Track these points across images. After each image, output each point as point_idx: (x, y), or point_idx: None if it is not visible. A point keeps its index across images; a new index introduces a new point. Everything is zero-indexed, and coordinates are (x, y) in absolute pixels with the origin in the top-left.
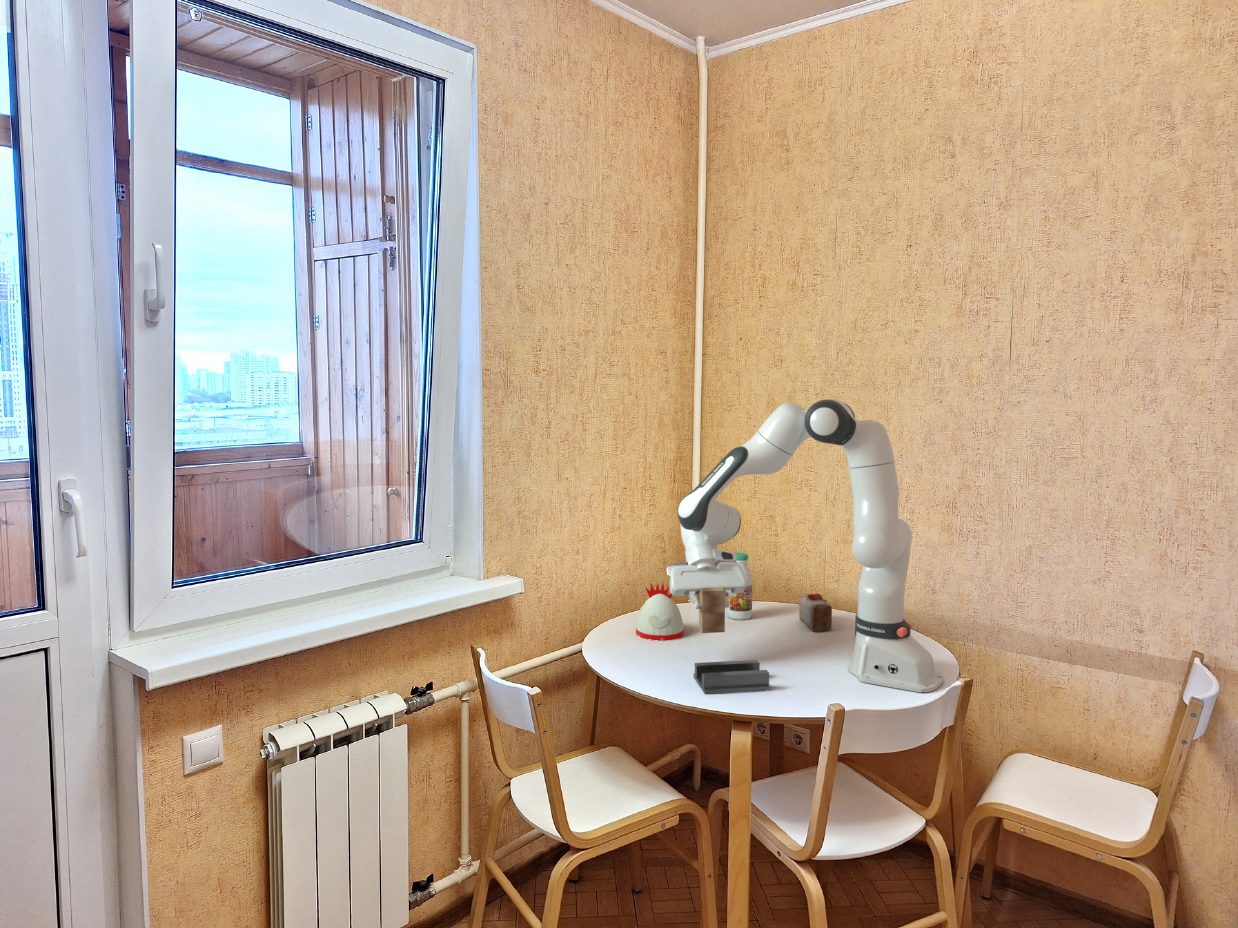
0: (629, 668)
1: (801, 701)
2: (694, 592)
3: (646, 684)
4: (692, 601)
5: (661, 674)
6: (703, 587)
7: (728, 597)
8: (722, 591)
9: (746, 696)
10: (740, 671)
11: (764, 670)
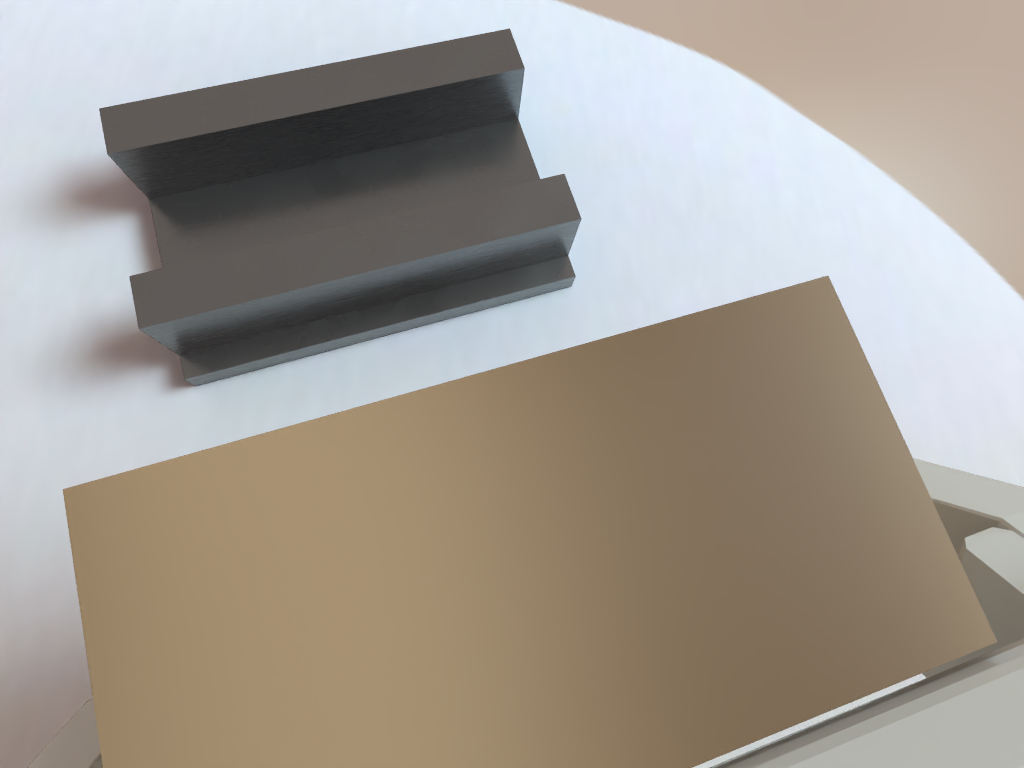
0: (940, 369)
1: (11, 41)
2: (1018, 578)
3: (793, 165)
4: None
5: None
6: (890, 728)
7: (87, 726)
8: (184, 470)
9: None
10: (287, 111)
11: (124, 140)
